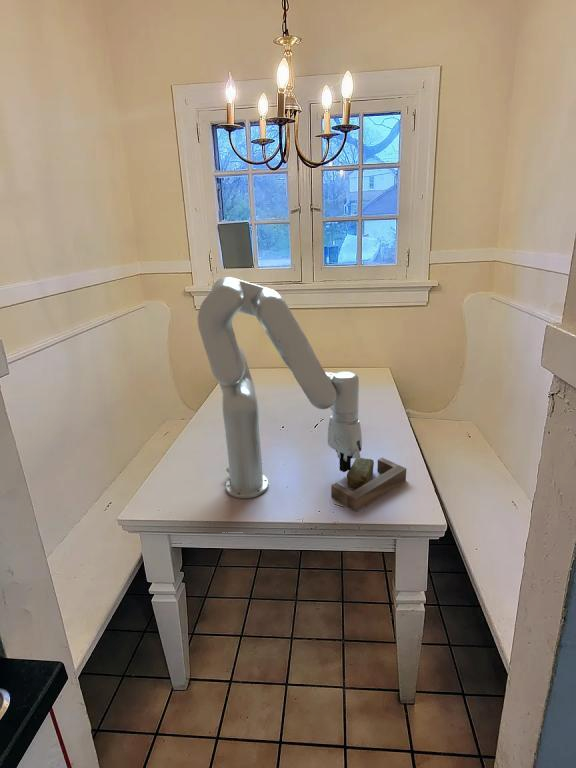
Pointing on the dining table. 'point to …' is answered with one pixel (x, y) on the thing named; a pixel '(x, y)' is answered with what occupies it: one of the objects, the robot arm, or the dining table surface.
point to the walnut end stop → (370, 486)
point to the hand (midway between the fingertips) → (345, 469)
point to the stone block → (360, 473)
